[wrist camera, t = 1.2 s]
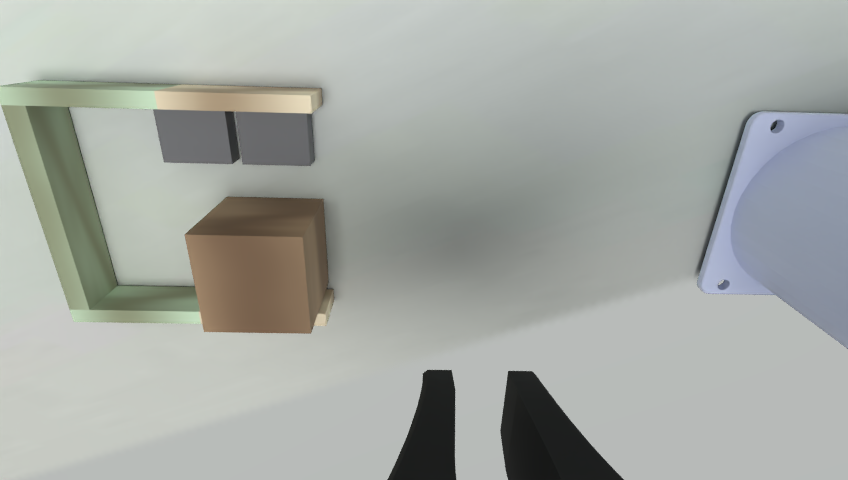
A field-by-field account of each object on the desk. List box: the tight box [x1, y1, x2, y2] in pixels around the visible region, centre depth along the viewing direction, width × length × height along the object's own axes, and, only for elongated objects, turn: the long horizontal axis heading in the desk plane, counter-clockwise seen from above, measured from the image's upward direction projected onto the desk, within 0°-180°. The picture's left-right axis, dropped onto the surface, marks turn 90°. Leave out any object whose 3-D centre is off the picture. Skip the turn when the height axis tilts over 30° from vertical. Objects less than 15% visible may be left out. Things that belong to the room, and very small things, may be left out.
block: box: [185, 197, 329, 333], centre depth 19 cm, size 4×4×4 cm
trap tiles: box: [153, 109, 314, 166], centre depth 18 cm, size 6×2×1 cm, turn 88°
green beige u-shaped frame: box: [0, 80, 334, 326], centre depth 19 cm, size 10×9×2 cm
